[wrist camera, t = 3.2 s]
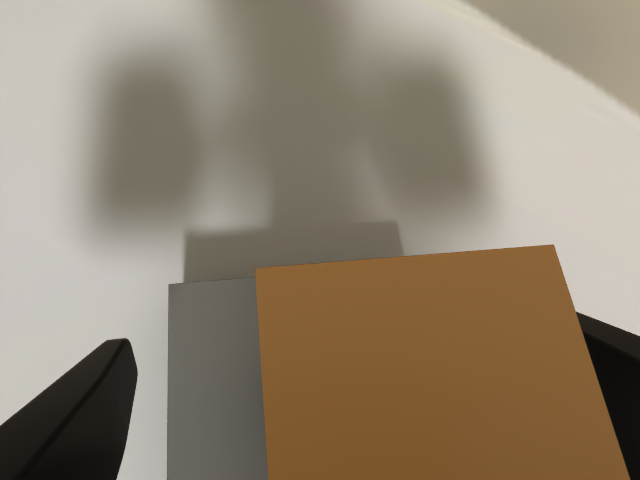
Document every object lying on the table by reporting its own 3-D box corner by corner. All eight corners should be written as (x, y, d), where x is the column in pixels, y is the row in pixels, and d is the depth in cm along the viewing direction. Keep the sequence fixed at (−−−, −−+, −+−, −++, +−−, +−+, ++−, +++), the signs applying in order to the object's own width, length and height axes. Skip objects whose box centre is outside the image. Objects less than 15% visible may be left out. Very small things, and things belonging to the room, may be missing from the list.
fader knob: (373, 421, 13) (646, 531, 4) (270, 436, 13) (276, 611, 3) (360, 336, 14) (553, 244, 4) (264, 346, 13) (255, 267, 4)
